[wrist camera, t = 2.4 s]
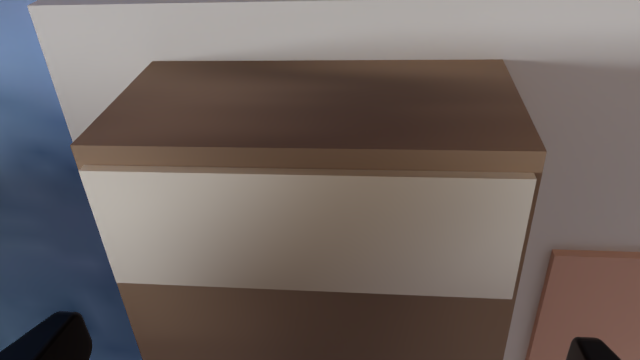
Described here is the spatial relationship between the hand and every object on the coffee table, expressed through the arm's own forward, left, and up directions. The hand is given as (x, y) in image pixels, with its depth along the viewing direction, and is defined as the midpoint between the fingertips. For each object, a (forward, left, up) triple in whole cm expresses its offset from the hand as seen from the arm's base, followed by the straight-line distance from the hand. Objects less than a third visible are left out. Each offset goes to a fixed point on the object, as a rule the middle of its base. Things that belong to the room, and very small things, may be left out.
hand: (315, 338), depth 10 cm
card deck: (0, 0, -2) cm, 2 cm away
